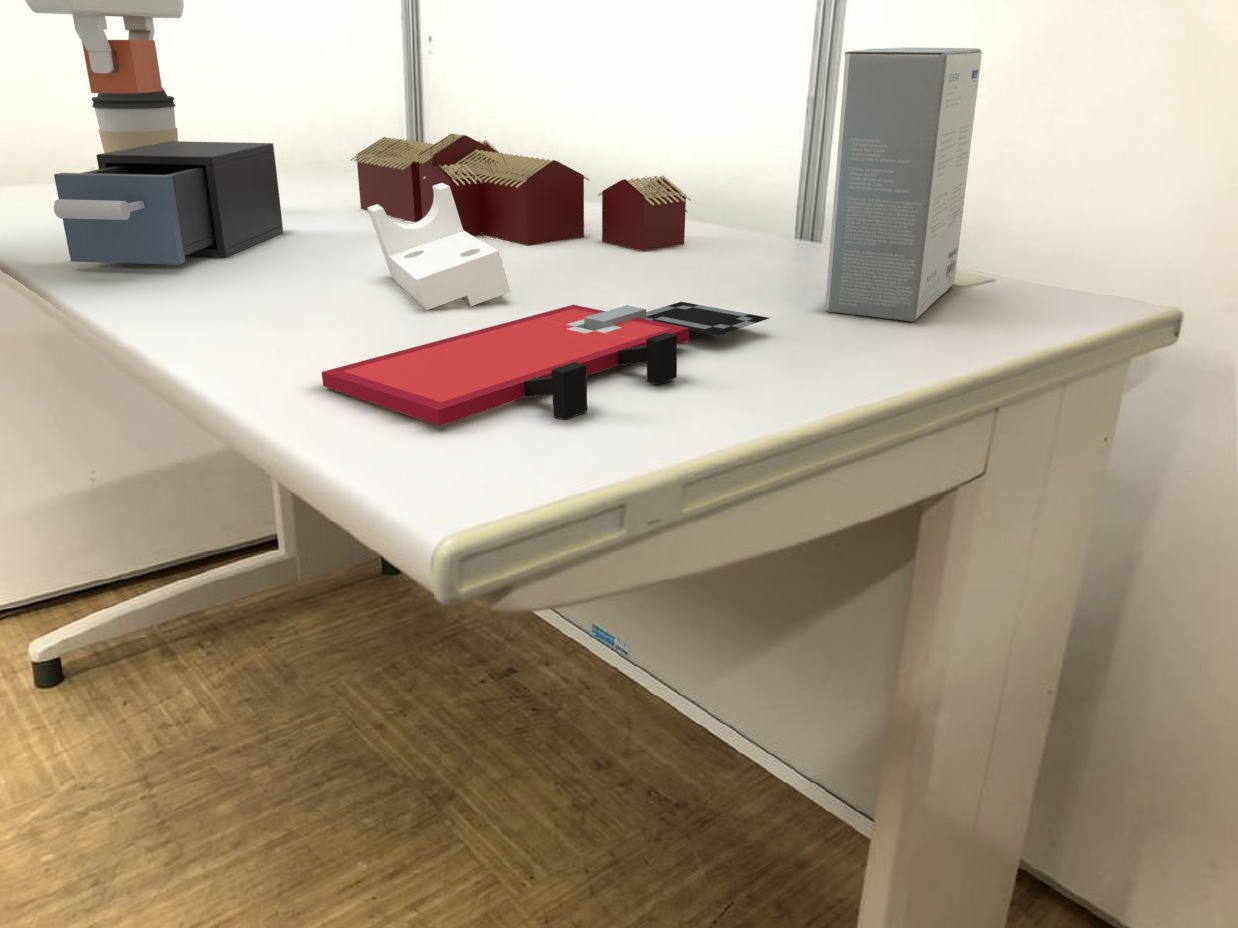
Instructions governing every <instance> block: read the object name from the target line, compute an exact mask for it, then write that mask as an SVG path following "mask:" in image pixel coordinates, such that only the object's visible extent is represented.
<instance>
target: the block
mask: <svg viewBox="0 0 1238 928" xmlns="http://www.w3.org/2000/svg"><path fill="white" fill-rule="evenodd" d="M107 40H108V43H109V45H110V48H111V50H112V51H116V53H117V59H118V65H119V70H118V72H116V73H95V72H93V71H92V69H91V65H90V60H89V54H88V51H87V50H86V48H85V46H84V45H83V43H82V42H81V44H82V49H83V50H82V51H83V56H84V61H85V66H86V67H85V68H86V72H87V77H88V84H89V89H90V93H91V94H98V93H123V94H140V93H151V92H162V87H163V86H162V85H163V84H162V79H161V71H160V65H159V60H158V59H159V58H158V54H157V53H158V52H157V47H156V40H154V39H153V40H128V39H107Z"/></svg>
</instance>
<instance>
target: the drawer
mask: <svg viewBox="0 0 1238 928" xmlns="http://www.w3.org/2000/svg"><path fill="white" fill-rule="evenodd" d="M53 176H54V177H53V178H54V182H55V187H56V188H55V189H56V194H57V198H58V199H56V200H55V201H54V203H53V212H54V214H55V216H56V217H57V218H59V219H62V223H63V228H64V229H63V230H64V234H65V239H66V243H67V249H68V255H69V259H70V262H73V263H107V264H142V265H174V266H178V265H181V264H184V263H186V258H185V257H186V256H185V255H188V254H190V253H193V252H195V251H198V250H200V249H203V248H205V247H208V246H210V245H213V244H215V243H216V236H215V229H214V222H213V215H212V208H211V200H210V193H209V186H208V179H207V172H206V165H165V164H122V165H118V166H113V167H108V168H103V169H99V168H98V169H93V170H89V171H83V172H57V173H54V174H53Z"/></svg>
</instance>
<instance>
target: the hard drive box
mask: <svg viewBox="0 0 1238 928" xmlns="http://www.w3.org/2000/svg"><path fill="white" fill-rule="evenodd" d="M982 54H983V52H982V49H981V48H975V47H972V48H971V47H970V48H969V47H905V46H904V47H883V48H867V49H857V50H847V51H845V52H844V64H843V65H844V67H843V80H842V93H841V106H840V119H839V130H838V141H837V142H838V143H837V153H836V154H837V155H836V168H835V179H834V180H835V181H834V192H833V193H834V194H833V205H832V206H833V207H832V216H831V217H832V218H831V230H830V241H829V253H828V254H829V255H828V266H827V276H826V277H827V278H826V291H825V304H824V310H825V312H828V313H837V314H845V315H853V316H854V315H855V316H863V317H870V318H871V317H872V318H880V319H888V320H897V321H902V322H903V321H904V322H915V321H916V320H918V318H919V317H921V315H923V314H924V313H925V312H926V311H927V310H928V309H929V307H931V305H933V304H934V303H935V302H936V301H937V300H938V299H939V298H941V296H942V295H944V294H945V293H946V292H947V291H948V290H949V289H950V288H951V287H952V286H953V285H954V284H955V279H956V272H957V266H958V256H959V250H960V249H959V248H960V240H961V230H962V223H963V222H962V221H963V215H964V206H965V195H966V187H967V180H968V173H969V172H968V171H969V165H970V154H971V146H972V138H973V130H974V121H975V113H976V105H977V97H978V89H979V80H980V74H981V73H980V72H981V64H982V57H983V56H982Z"/></svg>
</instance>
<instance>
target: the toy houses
mask: <svg viewBox="0 0 1238 928" xmlns="http://www.w3.org/2000/svg"><path fill="white" fill-rule="evenodd" d="M349 160H350V162H352V161H353V162H356V167H357V181H358V192H359V202H360V203H359V204H360V209H361V210H365V211H368V208H367V207H370V206H373V205H376V204H378V205H379V206H381V207H382V208H384V211H385V213H386V215H387V216H388V217H389V216H390V217H394V218H399V219H401V220H407V221H411V222H414V223H416V222H418V221H420V220H422V219H423V218H424V217H425V216H426V215H427V214H428V212H429V211H430V209H431V207H432V204H433V199H434V192H433V187H432V186H434V185H437V184H440V183H444V184H446V185H448V186H450V189H451V192H452V195H453V199H454V202H455V205H456V208H457V212H458V215H459V218H460V221H461V224H462V228H463V230H464V231H465V232H467V233H469V234H470V235H472V236H474V237H477V236H482V235H483V236H487V237H492V238H495V239H499V240H504V241H508V242H512V243H516V244H521V245H525V246H533V245H540V244H548V243H555V242H561V241H567V240H575V239H582V238H583V239H584V238H585V180H586V181H588V182H589V181H590V178H589V177H586V176H585V175H584V174H582V173H581V172H579V171H577V170H575V169H573V168H571V167H569V166H567V165H566V164H564V163H562V162H560V161H558V160H555V159H552V160H550V159H549V158H547V159H545V158H543V157H542V158H539V157H536V158H535V157H533V156H530V157H529V156H527V155H525V156H524V155H521V154H520V155H518V154H513V153H510V154H509V153H504V152H500V151H499V150H498V149H497V148H495V147H494V146H493V144H491V143H490V142H489V141H488V140H487V139H484V140H483V141H482V140H481V139H479V140H476V139H474V138H472V137H471V136H469V135H465V134H457V133H450V134H448V135H446V136H445V137H444V138H442V139H440V140H439V141H438V142H435V143H431V142H429V143H428V142H423V141H422V142H420V141H415V140H413V141H412V140H409V139H404V138H400V139H399V138H394V137H393V138H392V137H387V136H383V137H382V138H380V139H378V140H377V141H375V142H373V143H372V144H370V145H369V146H367V147H366V148H364V149H363V150H361V151H359V152H358V153H356V154H355V156H354V157H352V158H350V159H349ZM597 196H598V197H600V196H601V198H602V199H601V203H602V204H601V211H602V212H601V242H602V243H604V244H609V245H614V246H619V247H623V248H627V249H628V248H629V249H633V250H638V251H642V252H645V251H650V250H657V249H662V248H670V247H677V246H681V245H682V246H683V245H685V236H686V235H685V234H686V233H685V232H686V213H688V210H687V209H686V207H687V206H686V205H687V204H686V203H687V200H688V201H689V202H691V201H692V199H691V198H690V197H689V196H688V195H687V193H685V192H683V190H681V189H680V188H678V186H676V184H674V183H673V182H672V181H670V180H669V178H667V177H666V176H665V175H663V174H662V175H660V176H658V175H654V176H649V177H647V178H646V177H642V178H639V177H637V178H630V179H627V178H623V179H621V180H619V181H617V182H615V183H614V184H612V185H610V186H608V187H607V188H605V189H603V190H602V191H601V192H600V193H598V195H597Z"/></svg>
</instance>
